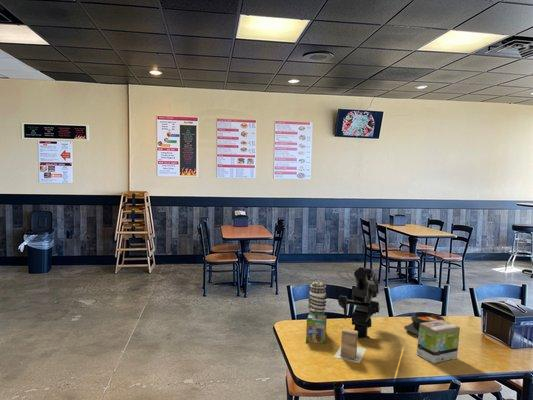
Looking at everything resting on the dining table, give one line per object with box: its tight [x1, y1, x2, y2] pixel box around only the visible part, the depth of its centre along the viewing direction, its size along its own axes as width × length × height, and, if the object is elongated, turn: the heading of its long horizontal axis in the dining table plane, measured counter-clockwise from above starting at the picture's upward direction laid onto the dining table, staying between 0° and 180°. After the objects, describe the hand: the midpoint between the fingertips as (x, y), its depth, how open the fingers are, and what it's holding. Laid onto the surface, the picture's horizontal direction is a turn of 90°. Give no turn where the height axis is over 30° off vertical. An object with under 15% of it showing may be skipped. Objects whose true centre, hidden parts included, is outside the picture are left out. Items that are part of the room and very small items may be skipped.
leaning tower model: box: [307, 281, 328, 315], centre depth 201 cm, size 9×9×25 cm
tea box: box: [416, 319, 461, 364], centre depth 179 cm, size 15×10×15 cm, turn 117°
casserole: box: [403, 311, 446, 336], centre depth 208 cm, size 25×19×8 cm
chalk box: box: [305, 309, 328, 345], centre depth 190 cm, size 9×9×15 cm
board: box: [333, 346, 367, 364], centre depth 176 cm, size 16×11×1 cm
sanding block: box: [340, 327, 359, 360], centre depth 173 cm, size 4×6×11 cm, turn 66°
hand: (355, 320), depth 181 cm, fingers open, 9 cm apart
